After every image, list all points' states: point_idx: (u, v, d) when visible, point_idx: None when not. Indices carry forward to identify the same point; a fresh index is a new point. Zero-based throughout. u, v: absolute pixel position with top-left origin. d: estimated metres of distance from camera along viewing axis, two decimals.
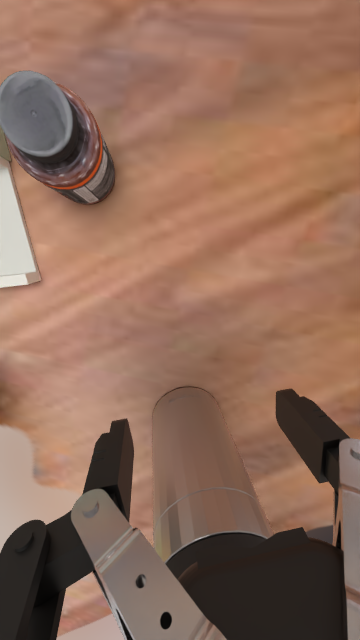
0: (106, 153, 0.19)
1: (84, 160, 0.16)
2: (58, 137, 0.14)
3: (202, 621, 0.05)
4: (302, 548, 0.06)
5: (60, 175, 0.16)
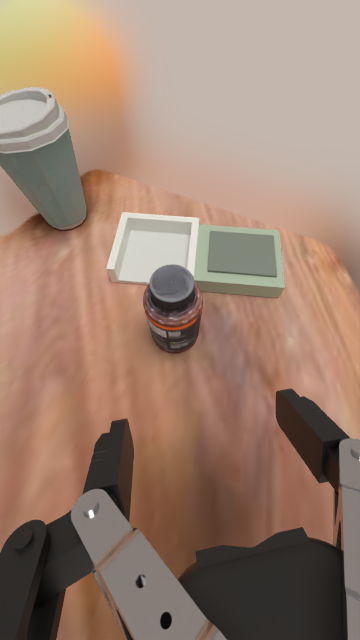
0: (167, 336, 0.25)
1: (152, 310, 0.23)
2: (157, 290, 0.21)
3: (202, 621, 0.05)
4: (302, 548, 0.06)
5: (147, 293, 0.23)
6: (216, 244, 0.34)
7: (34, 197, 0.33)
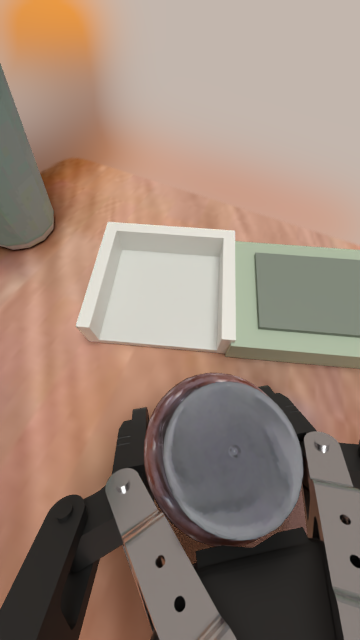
0: None
1: (169, 503, 0.08)
2: (189, 489, 0.06)
3: (214, 615, 0.05)
4: (302, 548, 0.06)
5: (155, 443, 0.09)
6: (269, 277, 0.20)
7: None
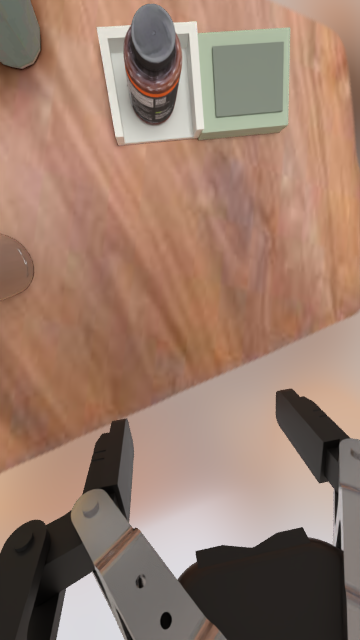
0: (154, 106, 0.28)
1: (139, 75, 0.24)
2: (142, 48, 0.22)
3: (202, 621, 0.05)
4: (302, 548, 0.06)
5: (128, 53, 0.24)
6: (221, 71, 0.30)
7: None
